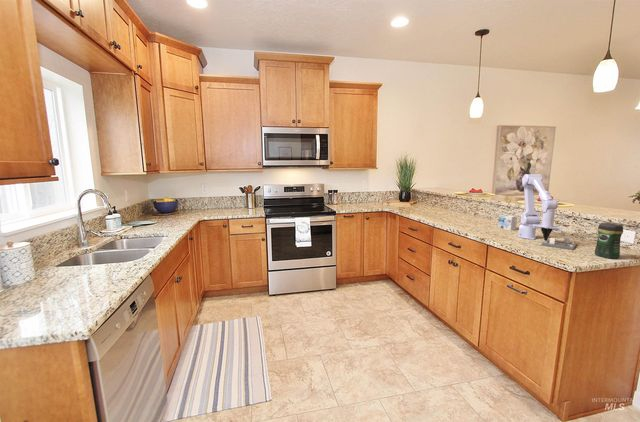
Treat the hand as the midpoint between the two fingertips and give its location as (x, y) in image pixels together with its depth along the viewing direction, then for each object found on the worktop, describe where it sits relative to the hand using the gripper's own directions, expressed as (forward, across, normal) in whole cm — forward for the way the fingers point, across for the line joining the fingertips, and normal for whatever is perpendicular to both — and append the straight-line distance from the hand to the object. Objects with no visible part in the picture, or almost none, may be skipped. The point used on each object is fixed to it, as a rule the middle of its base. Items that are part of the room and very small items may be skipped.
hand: (545, 240), depth 186 cm
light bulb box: (+3, -31, +36) cm, 47 cm away
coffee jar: (+3, +28, -8) cm, 30 cm away
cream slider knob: (+1, +9, +8) cm, 12 cm away
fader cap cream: (+1, +4, 0) cm, 4 cm away
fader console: (+3, +6, +4) cm, 8 cm away
